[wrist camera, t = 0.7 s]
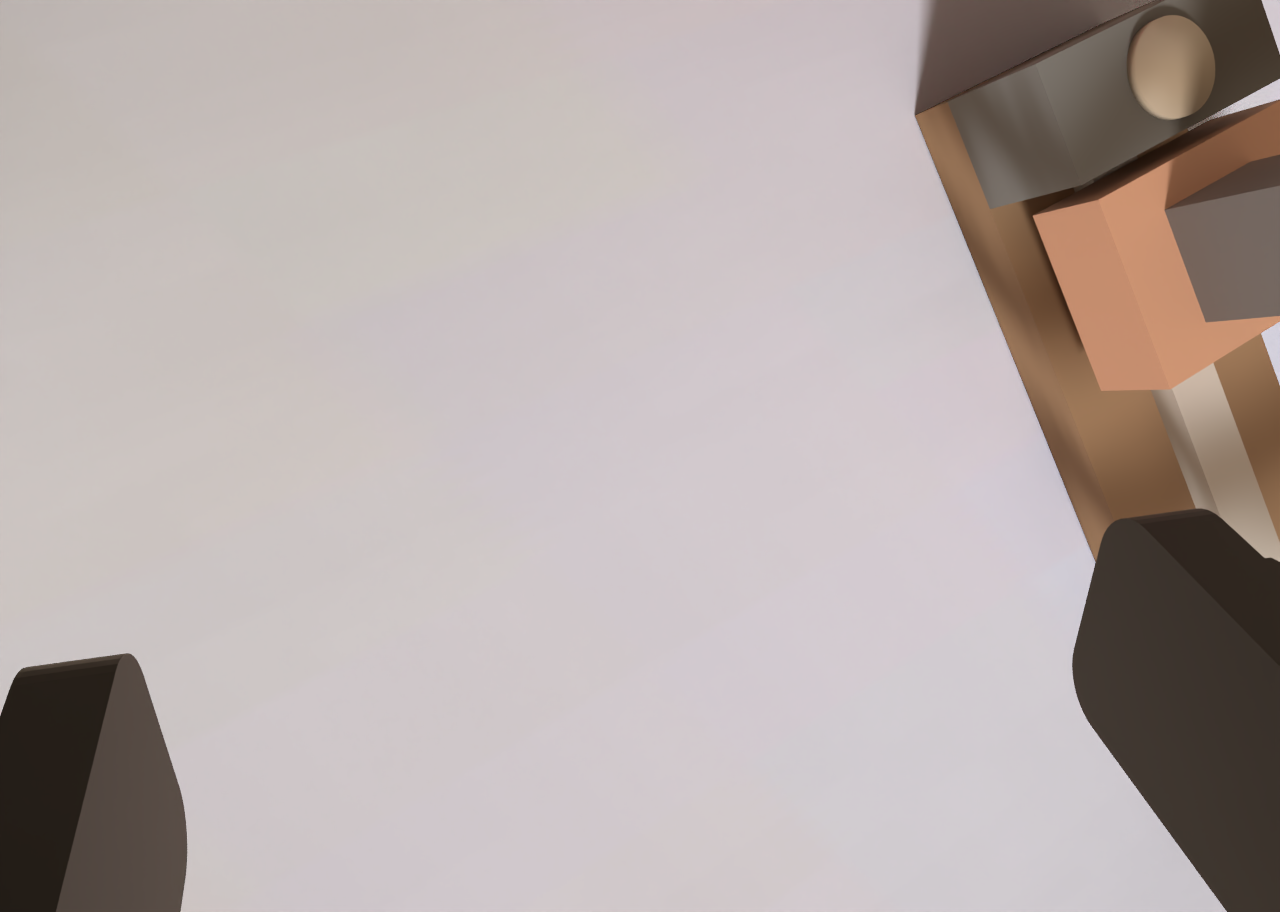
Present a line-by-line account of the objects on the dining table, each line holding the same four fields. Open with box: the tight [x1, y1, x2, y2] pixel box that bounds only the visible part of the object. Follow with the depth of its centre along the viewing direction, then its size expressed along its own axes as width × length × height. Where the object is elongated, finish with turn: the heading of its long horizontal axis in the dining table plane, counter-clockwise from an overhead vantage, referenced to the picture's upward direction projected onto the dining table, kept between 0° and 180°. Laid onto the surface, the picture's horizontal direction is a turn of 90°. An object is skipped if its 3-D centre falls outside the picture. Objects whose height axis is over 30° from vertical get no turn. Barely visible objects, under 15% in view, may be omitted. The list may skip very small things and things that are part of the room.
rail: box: [915, 0, 1280, 562], centre depth 32 cm, size 24×7×5 cm, turn 26°
